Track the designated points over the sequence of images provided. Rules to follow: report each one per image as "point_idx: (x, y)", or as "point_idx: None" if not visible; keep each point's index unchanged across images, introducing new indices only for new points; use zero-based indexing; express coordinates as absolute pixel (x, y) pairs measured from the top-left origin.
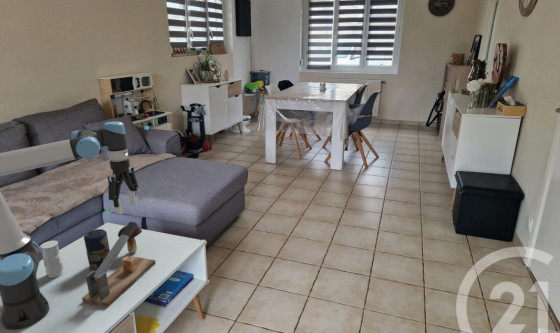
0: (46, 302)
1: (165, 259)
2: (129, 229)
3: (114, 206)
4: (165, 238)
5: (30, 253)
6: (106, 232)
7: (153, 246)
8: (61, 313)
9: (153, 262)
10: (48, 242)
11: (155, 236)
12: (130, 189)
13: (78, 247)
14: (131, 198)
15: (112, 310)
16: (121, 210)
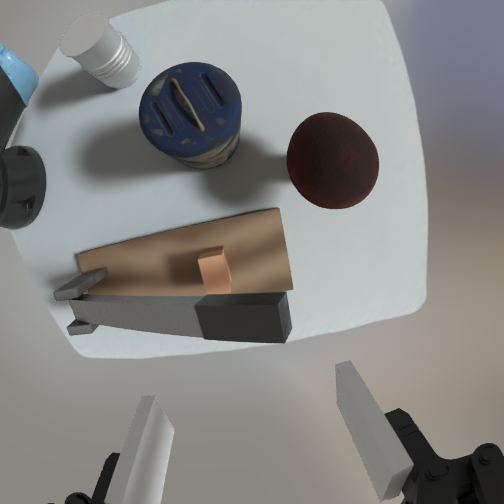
0: (32, 202)
1: (320, 292)
2: (233, 332)
3: (109, 460)
4: (410, 202)
5: None
6: (231, 131)
7: (364, 202)
8: (47, 245)
9: (283, 289)
10: (92, 18)
11: (407, 163)
12: (416, 486)
13: (250, 5)
14: (358, 427)
15: (106, 333)
16: (164, 450)
